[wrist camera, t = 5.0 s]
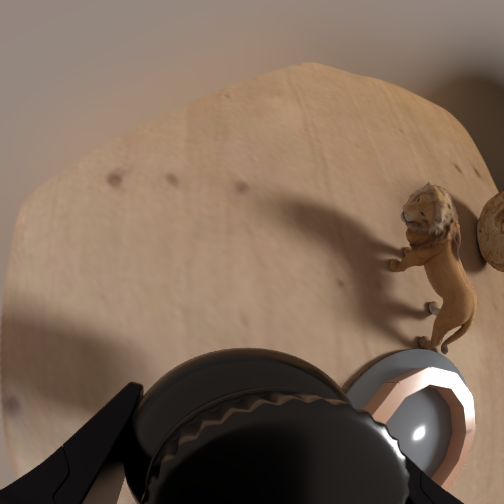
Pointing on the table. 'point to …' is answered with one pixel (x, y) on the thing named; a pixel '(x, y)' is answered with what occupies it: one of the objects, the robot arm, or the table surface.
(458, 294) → the lion figurine
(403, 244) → the table surface
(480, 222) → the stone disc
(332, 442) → the supplement bottle
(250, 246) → the table surface
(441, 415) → the ring tray
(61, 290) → the table surface
